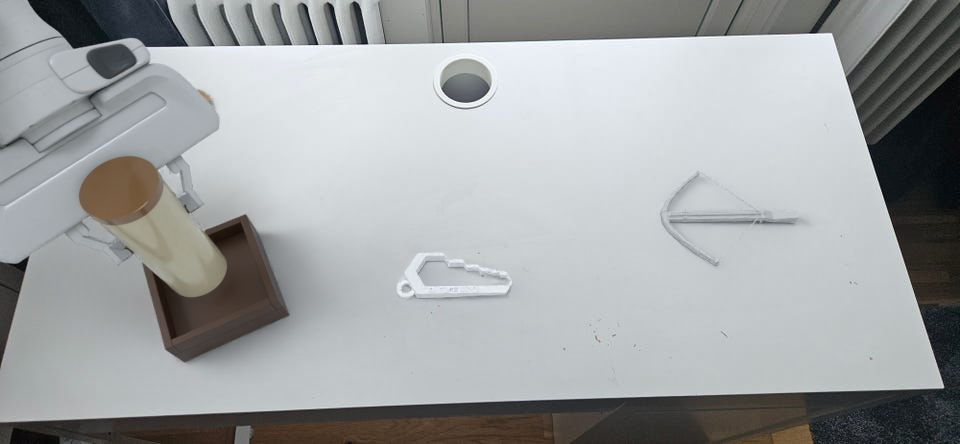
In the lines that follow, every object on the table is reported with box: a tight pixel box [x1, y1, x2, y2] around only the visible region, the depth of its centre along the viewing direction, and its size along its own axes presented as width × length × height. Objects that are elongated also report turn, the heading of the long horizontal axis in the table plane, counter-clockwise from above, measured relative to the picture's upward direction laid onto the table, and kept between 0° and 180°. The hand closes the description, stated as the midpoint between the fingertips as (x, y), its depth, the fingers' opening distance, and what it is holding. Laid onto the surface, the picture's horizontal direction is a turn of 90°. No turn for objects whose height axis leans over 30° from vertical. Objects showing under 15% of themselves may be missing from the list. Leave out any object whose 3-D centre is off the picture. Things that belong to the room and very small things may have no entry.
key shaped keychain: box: [396, 252, 513, 300], centre depth 67 cm, size 13×5×2 cm, turn 91°
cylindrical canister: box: [79, 156, 227, 297], centre depth 54 cm, size 6×6×16 cm
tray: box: [141, 213, 290, 363], centre depth 64 cm, size 12×12×4 cm
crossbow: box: [660, 170, 799, 266], centre depth 72 cm, size 16×13×2 cm
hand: (162, 232), depth 53 cm, fingers closed on cylindrical canister, 6 cm apart
